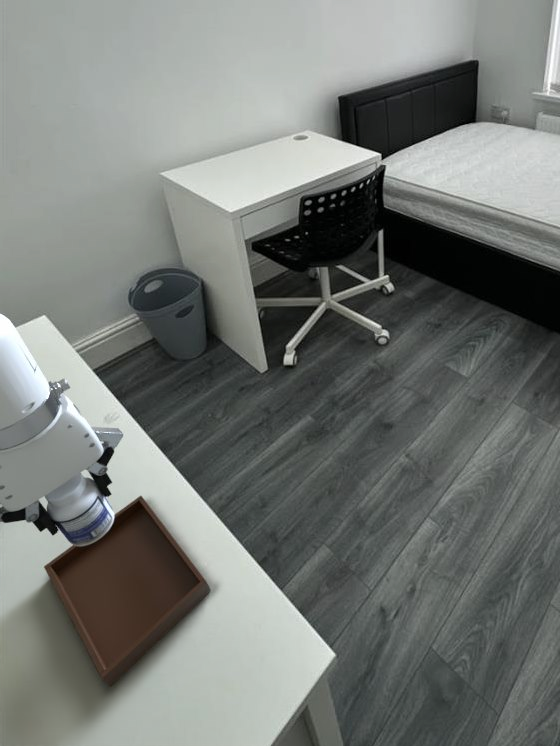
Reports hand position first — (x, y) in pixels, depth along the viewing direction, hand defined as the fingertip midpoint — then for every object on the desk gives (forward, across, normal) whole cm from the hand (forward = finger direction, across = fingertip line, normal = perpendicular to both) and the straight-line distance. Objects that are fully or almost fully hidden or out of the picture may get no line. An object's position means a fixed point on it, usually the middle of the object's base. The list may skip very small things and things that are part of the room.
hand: (78, 506), depth 61 cm
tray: (+15, 0, +4) cm, 16 cm away
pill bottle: (+5, 0, 0) cm, 5 cm away
